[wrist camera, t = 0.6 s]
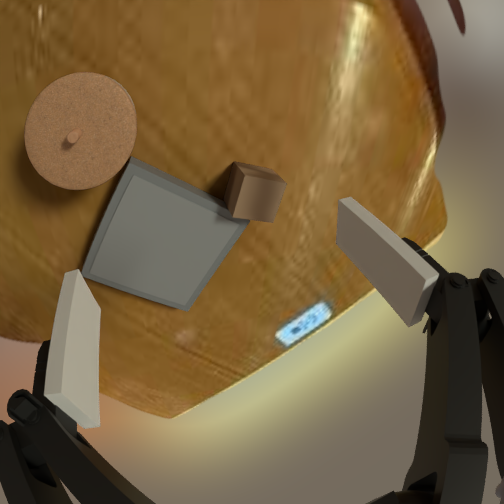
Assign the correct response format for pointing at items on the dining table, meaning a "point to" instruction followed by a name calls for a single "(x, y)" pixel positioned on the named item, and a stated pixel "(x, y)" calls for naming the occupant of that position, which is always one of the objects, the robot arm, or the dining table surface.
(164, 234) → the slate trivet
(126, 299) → the dining table surface
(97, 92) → the lidded jar
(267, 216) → the walnut block
